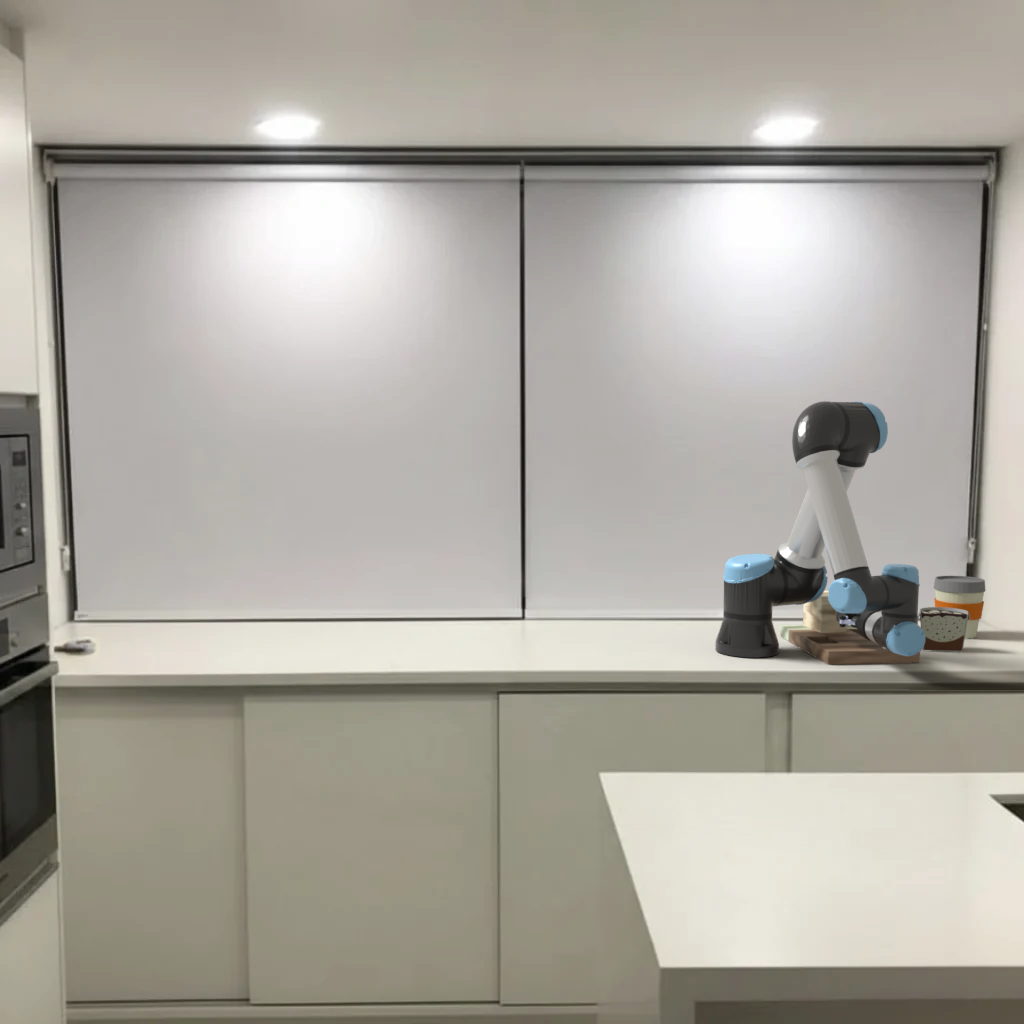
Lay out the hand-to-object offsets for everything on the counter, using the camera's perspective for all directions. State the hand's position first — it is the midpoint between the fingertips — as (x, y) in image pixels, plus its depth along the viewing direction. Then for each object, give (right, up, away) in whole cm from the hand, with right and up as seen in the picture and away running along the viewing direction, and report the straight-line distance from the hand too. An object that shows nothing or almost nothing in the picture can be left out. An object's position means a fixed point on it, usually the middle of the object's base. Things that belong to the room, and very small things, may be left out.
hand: (838, 609), depth 264 cm
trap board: (0, -9, -5) cm, 10 cm away
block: (-2, -6, +6) cm, 8 cm away
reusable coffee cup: (+35, -8, +13) cm, 38 cm away
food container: (+24, -10, -4) cm, 26 cm away
